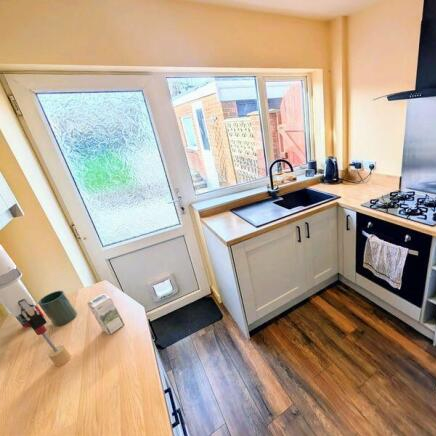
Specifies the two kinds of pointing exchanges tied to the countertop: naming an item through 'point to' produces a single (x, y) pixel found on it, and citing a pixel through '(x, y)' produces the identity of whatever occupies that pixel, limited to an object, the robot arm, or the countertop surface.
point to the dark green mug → (58, 308)
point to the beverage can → (23, 321)
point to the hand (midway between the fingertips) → (34, 320)
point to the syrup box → (106, 313)
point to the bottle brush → (55, 349)
